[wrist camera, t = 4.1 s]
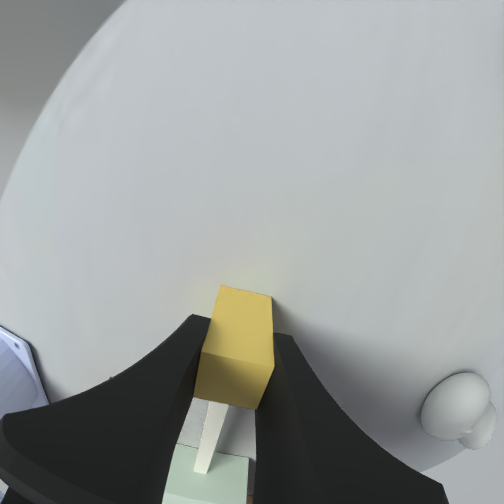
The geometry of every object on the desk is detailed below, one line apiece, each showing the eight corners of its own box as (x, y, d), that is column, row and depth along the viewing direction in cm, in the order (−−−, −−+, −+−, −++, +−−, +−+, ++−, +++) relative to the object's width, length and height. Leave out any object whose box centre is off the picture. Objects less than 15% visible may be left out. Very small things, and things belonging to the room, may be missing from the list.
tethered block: (159, 466, 17) (149, 506, 13) (171, 272, 11) (131, 331, 7) (234, 482, 17) (230, 522, 13) (319, 306, 11) (341, 375, 7)
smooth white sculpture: (402, 380, 14) (476, 344, 12) (437, 421, 16) (493, 395, 13) (404, 442, 11) (493, 407, 8) (439, 467, 12) (502, 442, 10)
